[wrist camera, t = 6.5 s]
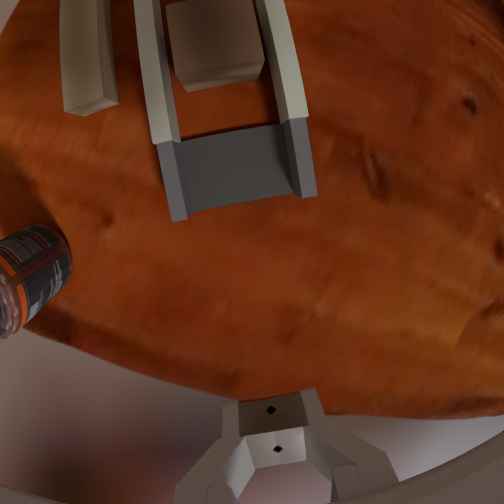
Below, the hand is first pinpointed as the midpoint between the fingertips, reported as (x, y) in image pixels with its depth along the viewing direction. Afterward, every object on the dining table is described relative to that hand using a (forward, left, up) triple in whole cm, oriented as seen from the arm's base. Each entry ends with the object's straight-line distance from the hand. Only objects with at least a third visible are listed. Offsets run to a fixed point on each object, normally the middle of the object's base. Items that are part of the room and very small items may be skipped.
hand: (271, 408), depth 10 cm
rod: (+9, -21, -15) cm, 27 cm away
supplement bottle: (+17, -4, -15) cm, 23 cm away
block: (0, -16, -15) cm, 22 cm away
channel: (0, -16, -15) cm, 22 cm away
